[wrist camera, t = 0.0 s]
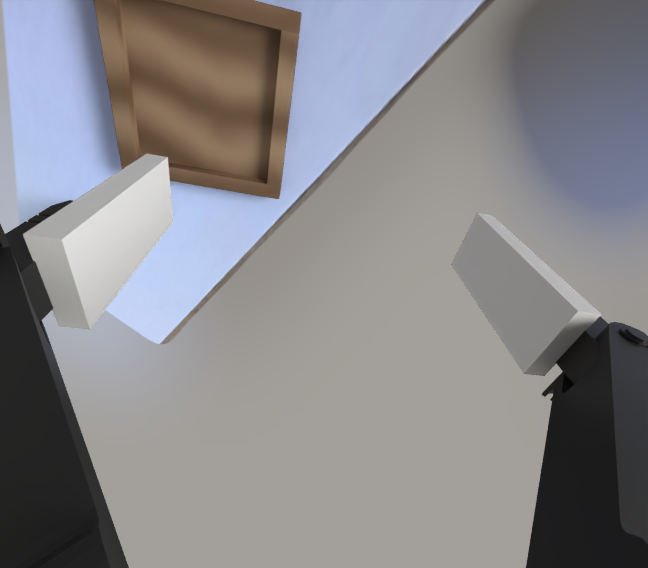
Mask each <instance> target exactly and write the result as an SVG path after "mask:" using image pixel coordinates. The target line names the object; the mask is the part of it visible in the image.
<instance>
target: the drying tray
mask: <svg viewBox="0 0 648 568" xmlns="http://www.w3.org/2000/svg"><path fill="white" fill-rule="evenodd" d="M94 4H95V10H96V16H97V22H98V28H99V34H100V40H101V46H102V52H103V58H104V64H105V70H106V76H107V82H108V88H109V93H110V99H111V105H112V111H113V117H114V123H115V129H116V135H117V141H118V147H119V153H120V159H121V165H122V169H124V168H125V167H127V166H128V165H130V164H131V163H133V162H134V161H136V160H138V159H139V158H141V157H142V156H144V155H145V154H152V155H158V156H163V157H168V165H169V177H170V181H175V182H181V183H187V184H193V185H199V186H205V187H210V188H216V189H222V190H228V191H234V192H240V193H245V194H251V195H257V196H263V197H269V198H275V199H279V196H280V190H281V182H282V173H283V165H284V157H285V148H286V140H287V132H288V123H289V115H290V106H291V98H292V90H293V81H294V73H295V65H296V56H297V48H298V40H299V31H300V23H301V12H297V11H293V10H289V9H285V8H281V7H277V6H274V5H270V4H266V3H262V2H258V1H254V0H94Z"/></svg>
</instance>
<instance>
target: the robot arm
mask: <svg viewBox="0 0 648 568" xmlns="http://www.w3.org/2000/svg"><path fill="white" fill-rule="evenodd" d="M172 223H173V213H172V201H171V189H170V177H169V165H168V157H163V156H158V155H152V154H145V155H144V156H142V157H141V158H139V159H138V160H136V161H134V162H133V163H131V164H130V165H128V166H127V167H125V168H124V169H122V170H121V171H119V172H118V173H116V174H114V175H113V176H111V177H110V178H108V179H107V180H105V181H104V182H102V183H101V184H99V185H98V186H96V187H95V188H93V189H91V190H90V191H88V192H87V193H85V194H84V195H82V196H81V197H79V198H78V199H76V200H75V201H71V200H69V201H66V202H62V203H59V204H56V205H52V206H50V207H49V208H47V209H45V210H44V211H42V212H41V213H39V215H36V216H34V217H32V218H31V219H29V220H28V222H24V223H23V224H21V225H19V226H18V227H16V228H14V229H13V230H11V231H10V232H8V233H6V234H4V231H3V229H2V227H1V224H0V568H129V567H128V564H127V562H126V558H125V556H124V553H123V550H122V547H121V544H120V541H119V539H118V536H117V533H116V530H115V527H114V524H113V521H112V519H111V515H110V513H109V510H108V507H107V504H106V501H105V498H104V495H103V493H102V490H101V487H100V484H99V481H98V478H97V476H96V473H95V470H94V467H93V464H92V461H91V458H90V455H89V453H88V450H87V447H86V444H85V441H84V438H83V436H82V433H81V430H80V427H79V424H78V421H77V418H76V416H75V413H74V410H73V407H72V404H71V401H70V398H69V396H68V393H67V390H66V387H65V384H64V381H63V378H62V375H61V373H60V370H59V367H58V364H57V361H56V359H55V355H54V353H53V350H52V347H51V344H50V341H49V338H48V335H47V333H46V330H45V327H44V325H43V323H42V319H43V318H44V317H45V316H46V315H47V314H48V313H49V312H50V311H51V310H53V313H54V316H55V318H56V321H57V323H58V326H62V327H72V328H81V329H90V328H91V327H92V326H93V325H94V323H95V322H96V321H97V320H98V318H99V317H100V316H101V315H102V313H103V312H104V311H105V309H106V308H107V307H108V306H109V304H110V303H111V302H112V300H113V299H114V298H115V296H116V295H117V294H118V293H119V291H120V290H121V289H122V287H123V286H124V285H125V284H126V282H127V281H128V280H129V278H130V277H131V276H132V275H133V273H134V272H135V271H136V269H137V268H138V267H139V266H140V264H141V263H142V262H143V260H144V259H145V258H146V257H147V255H148V254H149V253H150V251H151V250H152V249H153V247H154V246H155V245H156V244H157V242H158V241H159V240H160V238H161V237H162V236H163V235H164V233H165V232H166V231H167V229H168V228H169V227H170V226H171V224H172ZM451 265H452V266H453V268H454V269H455V271H456V272H457V274H458V275H459V277H460V278H461V280H462V281H463V283H464V284H465V286H466V287H467V289H468V290H469V292H470V293H471V295H472V297H473V298H474V300H475V301H476V302H477V304H478V306H479V307H480V309H481V310H482V312H483V313H484V314H485V316H486V318H487V319H488V321H489V322H490V324H491V325H492V326H493V328H494V330H495V331H496V333H497V334H498V335H499V337H500V339H501V340H502V342H503V343H504V344H505V346H506V348H507V349H508V351H509V352H510V353H511V355H512V356H513V358H514V360H515V361H516V362H517V364H518V365H519V367H520V369H521V370H522V372H523V373H524V374H531V375H541V376H545V375H546V373H547V372H548V371H549V370H550V369H551V368H552V367H553V366H554V365H555V364H556V363H557V364H558V366H559V367H560V368H561V370H562V371H563V372H562V373H561V374H560V375H559V376H558V377H557V378H556V379H555V380H554V382H552V384H551V385H550V386H549V387H548V388H547V389H546V390H545V391H544V392H543V393H542V395H543V396H546V395H547V394H550V393H553V397H552V398H551V401H552V406H551V412H550V418H549V425H548V431H547V437H546V444H545V451H544V456H543V463H542V469H541V475H540V482H539V488H538V495H537V501H536V507H535V514H534V521H533V527H532V533H531V539H530V546H529V552H528V558H527V565H526V568H648V336H647V335H646V334H645V333H643V332H641V331H640V330H638V329H635V328H633V327H630V326H627V325H625V324H622V323H617V322H613V323H610V324H608V323H607V322H606V321H605V320H603V319H602V318H601V317H600V315H601V313H600V312H598V311H597V310H596V309H595V308H594V307H593V306H592V305H591V304H590V303H588V302H587V301H586V300H585V299H584V298H583V297H582V296H581V295H579V294H578V293H577V292H576V291H575V290H574V289H573V288H572V287H570V286H569V285H568V284H567V283H566V282H565V281H564V280H563V279H562V278H561V277H560V276H559V275H557V274H556V273H555V272H554V271H553V270H552V269H551V268H550V267H549V266H548V265H546V264H545V263H544V262H543V261H542V260H541V259H540V258H538V256H536V255H535V254H534V253H533V252H532V251H531V250H530V249H529V248H528V247H526V246H525V245H524V244H523V243H522V242H521V241H520V240H519V239H517V237H515V236H514V235H513V234H512V233H511V232H510V231H509V230H508V229H506V228H505V227H504V226H503V225H502V224H501V223H500V222H499V221H498V220H497V219H495V218H494V217H493V216H490V215H485V214H479V213H477V215H476V216H475V218H474V220H473V222H472V224H471V226H470V228H469V230H468V232H467V234H466V236H465V238H464V240H463V242H462V244H461V246H460V248H459V250H458V252H457V254H456V256H455V258H454V260H453V262H452V264H451Z"/></svg>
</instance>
